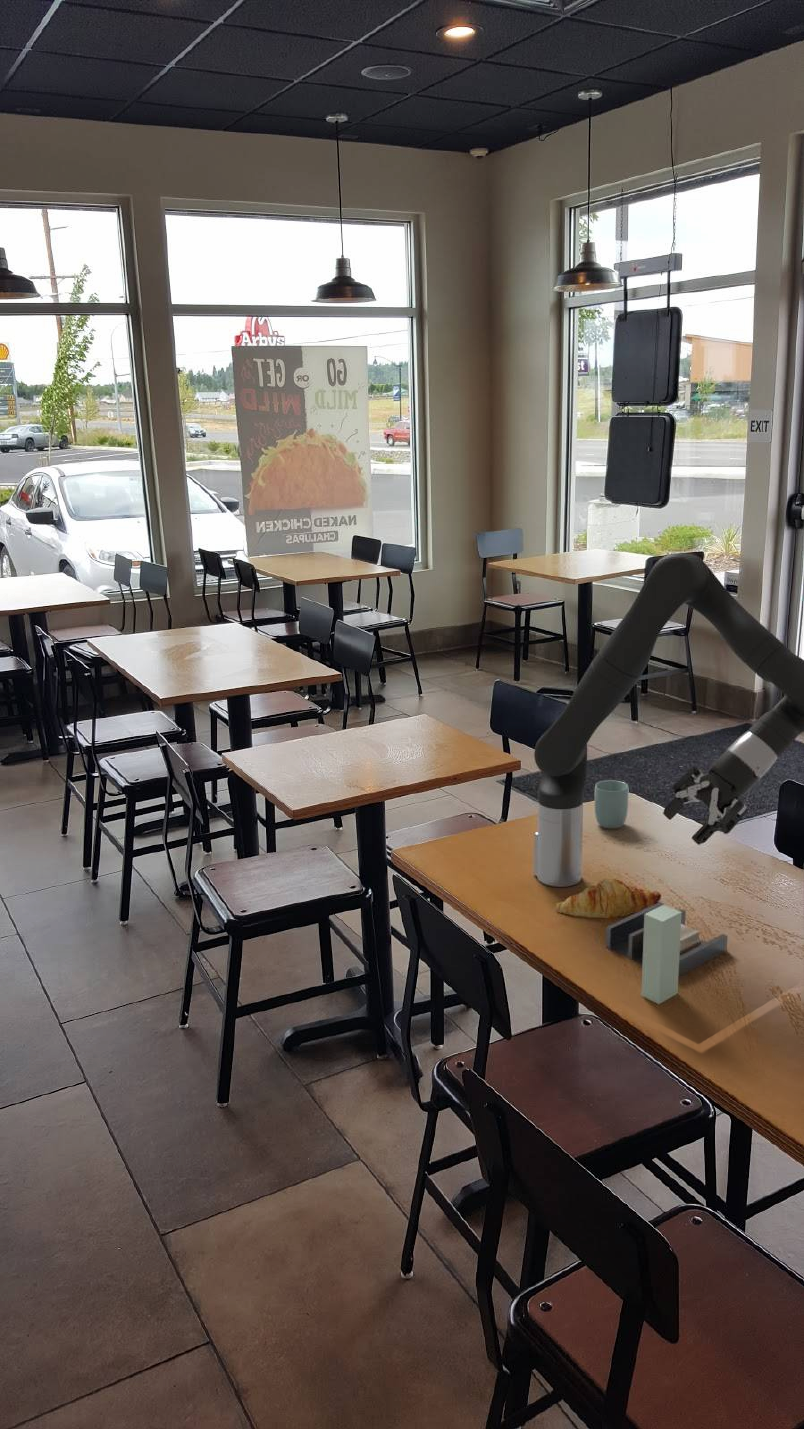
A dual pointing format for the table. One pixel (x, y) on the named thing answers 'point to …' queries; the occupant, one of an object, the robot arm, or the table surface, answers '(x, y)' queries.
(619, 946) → the rack
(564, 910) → the croissant
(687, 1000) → the table surface
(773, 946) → the table surface
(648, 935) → the tall mint green block
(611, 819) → the cup
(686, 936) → the offcut upper
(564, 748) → the robot arm
